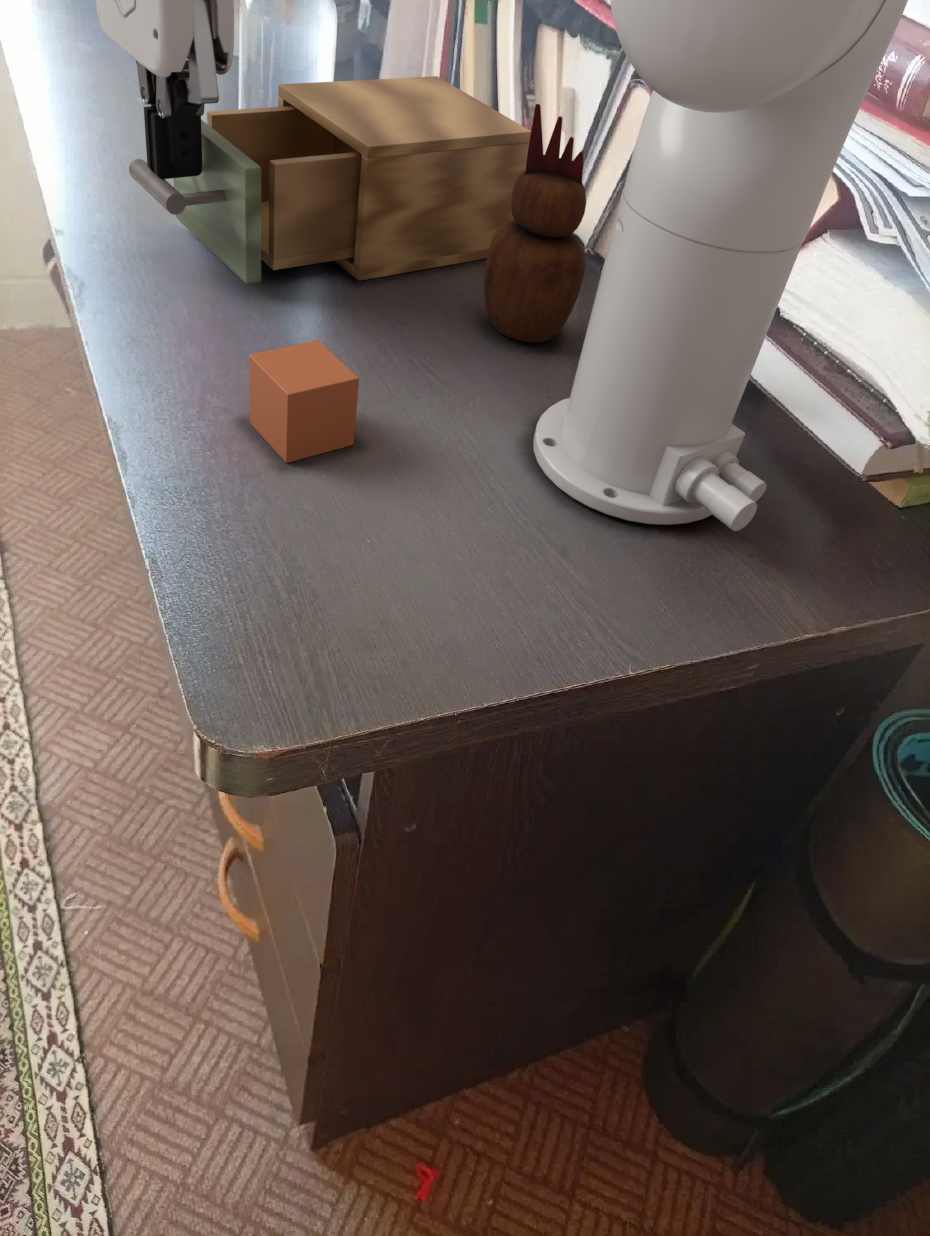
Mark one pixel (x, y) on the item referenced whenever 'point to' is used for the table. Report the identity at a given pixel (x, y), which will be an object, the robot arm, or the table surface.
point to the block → (302, 400)
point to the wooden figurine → (538, 244)
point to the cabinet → (419, 168)
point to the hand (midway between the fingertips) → (175, 171)
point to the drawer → (266, 191)
